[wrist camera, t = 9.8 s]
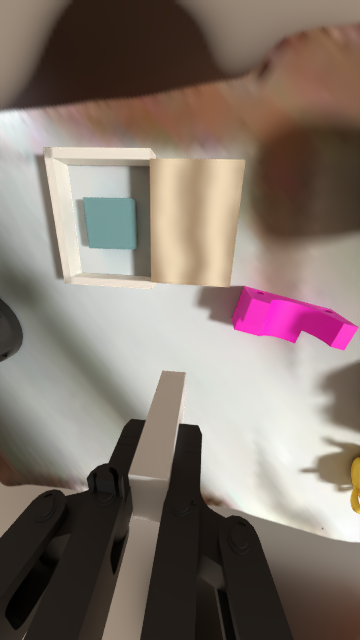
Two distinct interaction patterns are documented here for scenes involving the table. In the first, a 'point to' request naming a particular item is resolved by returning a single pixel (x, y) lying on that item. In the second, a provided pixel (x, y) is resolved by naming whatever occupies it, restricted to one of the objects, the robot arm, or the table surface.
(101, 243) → the teal rectangular block
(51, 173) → the box
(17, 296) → the table surface
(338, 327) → the magenta notched bracket
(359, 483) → the teapot
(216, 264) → the plate
